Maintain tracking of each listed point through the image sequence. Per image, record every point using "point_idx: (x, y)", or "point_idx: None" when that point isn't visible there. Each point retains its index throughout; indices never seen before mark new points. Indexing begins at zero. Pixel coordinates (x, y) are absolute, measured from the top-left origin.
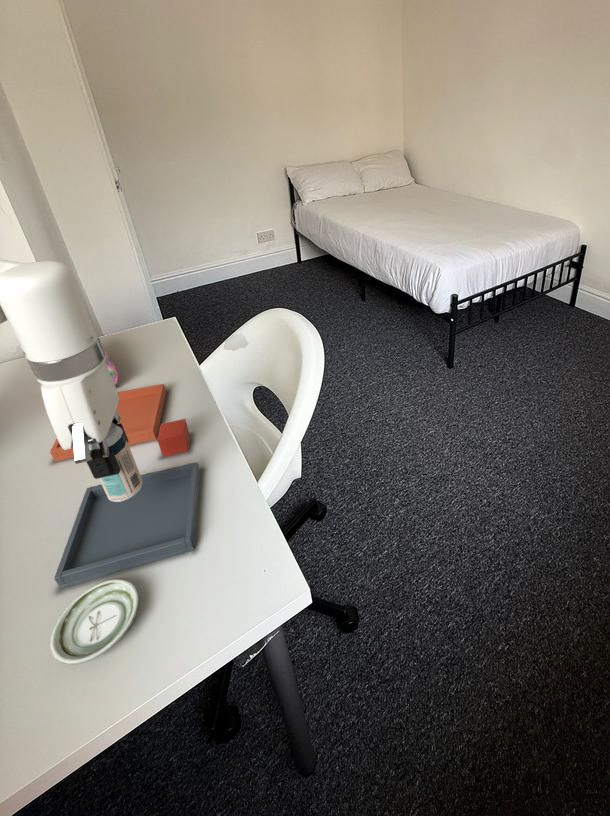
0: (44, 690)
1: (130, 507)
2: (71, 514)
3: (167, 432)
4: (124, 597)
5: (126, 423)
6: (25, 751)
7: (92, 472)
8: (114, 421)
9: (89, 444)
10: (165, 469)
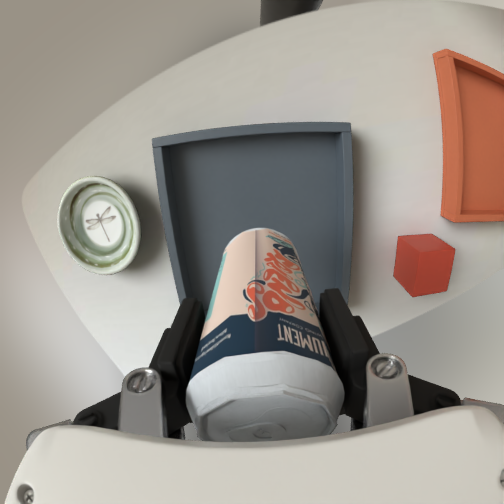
0: (60, 184)
1: (293, 206)
2: (311, 98)
3: (430, 267)
4: (125, 247)
5: (484, 160)
6: (31, 193)
7: (176, 316)
8: (352, 422)
9: (197, 408)
10: (350, 267)
